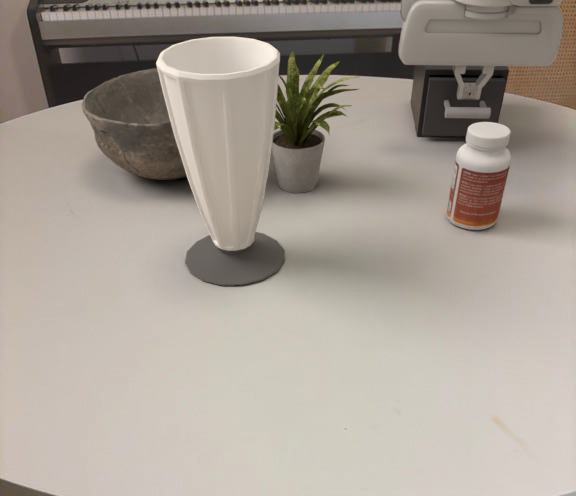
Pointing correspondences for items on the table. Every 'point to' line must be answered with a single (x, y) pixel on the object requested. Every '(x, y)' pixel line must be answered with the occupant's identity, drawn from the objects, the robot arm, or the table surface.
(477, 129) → the pill bottle
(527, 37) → the robot arm
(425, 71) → the cabinet
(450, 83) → the drawer
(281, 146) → the house plant
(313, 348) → the table surface
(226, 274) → the cup
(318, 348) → the table surface
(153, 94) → the bowl
